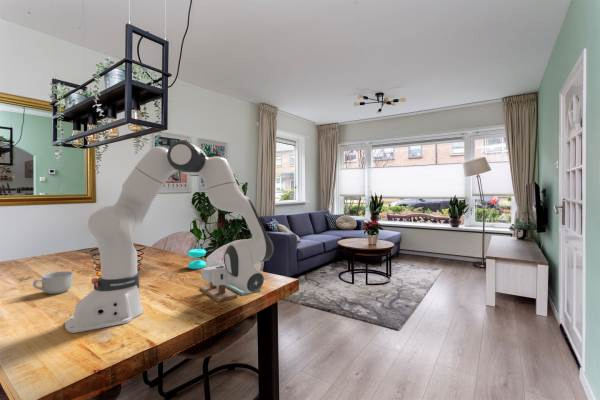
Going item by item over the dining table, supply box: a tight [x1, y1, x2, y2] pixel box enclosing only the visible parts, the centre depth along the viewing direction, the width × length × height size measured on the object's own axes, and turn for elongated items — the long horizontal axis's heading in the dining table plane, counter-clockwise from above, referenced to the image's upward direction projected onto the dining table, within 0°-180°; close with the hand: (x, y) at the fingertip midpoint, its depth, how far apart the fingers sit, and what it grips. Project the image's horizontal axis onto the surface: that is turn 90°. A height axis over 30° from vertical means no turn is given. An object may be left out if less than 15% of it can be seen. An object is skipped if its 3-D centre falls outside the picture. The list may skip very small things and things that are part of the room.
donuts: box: [187, 248, 207, 270], centre depth 171 cm, size 10×10×10 cm
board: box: [225, 285, 261, 296], centre depth 134 cm, size 9×19×1 cm, turn 40°
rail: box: [206, 256, 225, 268], centre depth 127 cm, size 3×16×4 cm, turn 40°
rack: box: [199, 282, 238, 303], centre depth 127 cm, size 8×20×10 cm, turn 40°
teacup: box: [32, 270, 74, 295], centre depth 128 cm, size 14×11×8 cm
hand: (219, 266), depth 125 cm, fingers open, 8 cm apart
